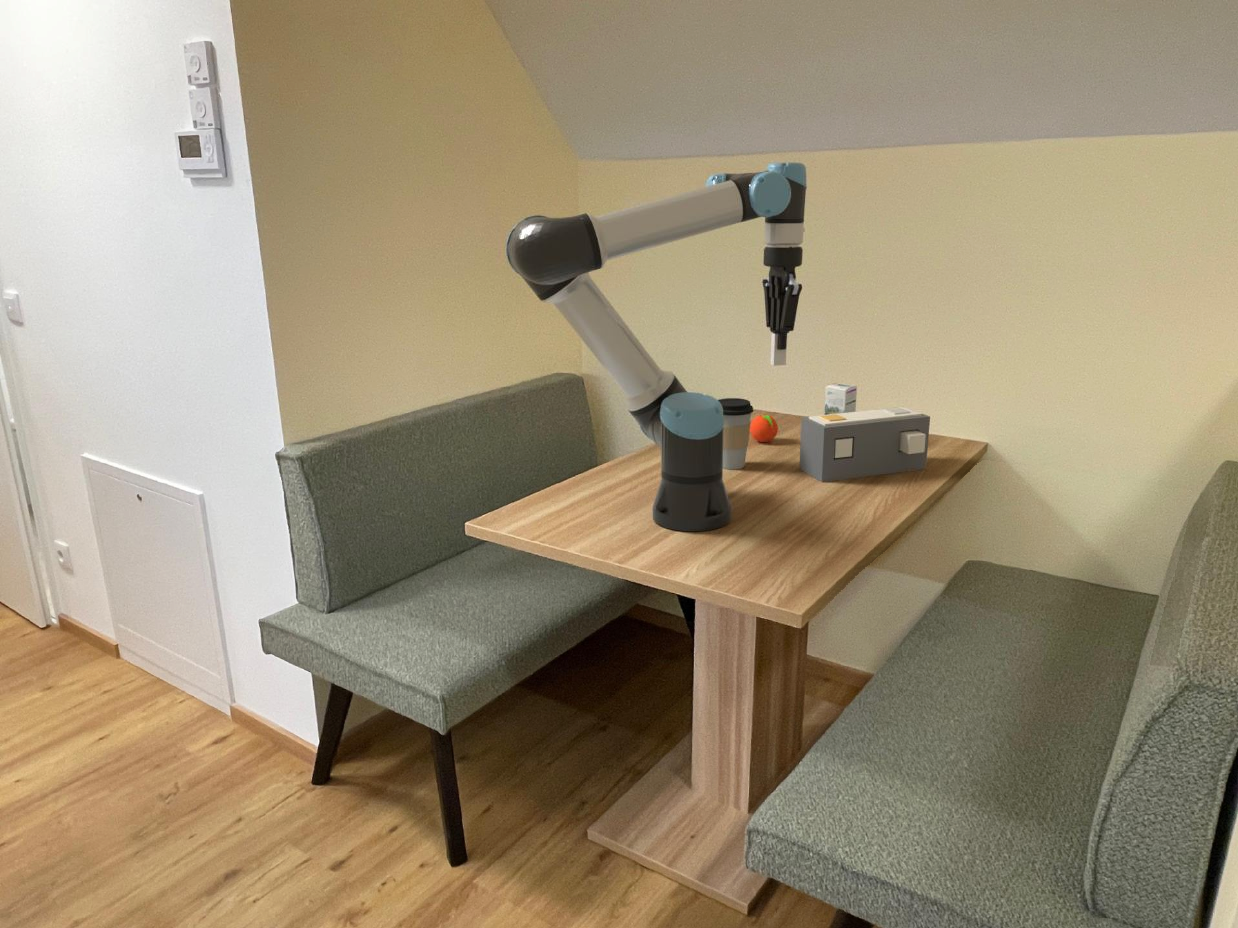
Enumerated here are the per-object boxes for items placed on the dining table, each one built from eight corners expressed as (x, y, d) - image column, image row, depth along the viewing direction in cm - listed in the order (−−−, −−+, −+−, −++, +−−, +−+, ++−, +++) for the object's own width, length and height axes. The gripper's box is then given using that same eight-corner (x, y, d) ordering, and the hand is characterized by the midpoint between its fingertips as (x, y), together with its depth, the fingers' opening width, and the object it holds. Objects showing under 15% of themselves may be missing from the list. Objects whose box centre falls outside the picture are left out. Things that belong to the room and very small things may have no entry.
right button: (924, 452, 191) (925, 434, 190) (908, 454, 190) (909, 436, 189) (909, 445, 196) (910, 428, 195) (893, 447, 195) (894, 430, 194)
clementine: (784, 444, 218) (785, 416, 216) (759, 448, 215) (760, 419, 213) (769, 437, 225) (769, 409, 223) (744, 439, 223) (745, 412, 221)
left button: (851, 456, 190) (852, 438, 189) (835, 458, 189) (836, 440, 188) (838, 449, 195) (839, 432, 194) (822, 451, 194) (823, 433, 193)
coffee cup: (751, 460, 206) (752, 397, 202) (753, 472, 197) (754, 406, 193) (710, 459, 207) (711, 397, 203) (710, 471, 198) (711, 406, 194)
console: (925, 468, 196) (930, 413, 193) (821, 482, 189) (824, 424, 186) (899, 456, 206) (903, 403, 202) (799, 469, 198) (801, 414, 195)
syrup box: (854, 442, 218) (858, 384, 214) (842, 447, 214) (845, 389, 210) (834, 438, 222) (837, 382, 218) (822, 443, 218) (824, 386, 214)
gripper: (816, 247, 168) (809, 369, 175) (785, 243, 180) (780, 358, 187) (780, 247, 166) (775, 371, 173) (751, 244, 178) (747, 360, 185)
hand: (778, 364), depth 180 cm, fingers closed
